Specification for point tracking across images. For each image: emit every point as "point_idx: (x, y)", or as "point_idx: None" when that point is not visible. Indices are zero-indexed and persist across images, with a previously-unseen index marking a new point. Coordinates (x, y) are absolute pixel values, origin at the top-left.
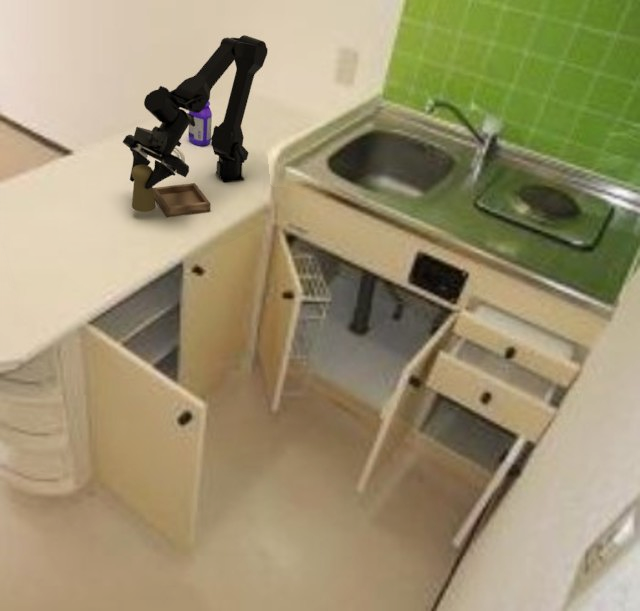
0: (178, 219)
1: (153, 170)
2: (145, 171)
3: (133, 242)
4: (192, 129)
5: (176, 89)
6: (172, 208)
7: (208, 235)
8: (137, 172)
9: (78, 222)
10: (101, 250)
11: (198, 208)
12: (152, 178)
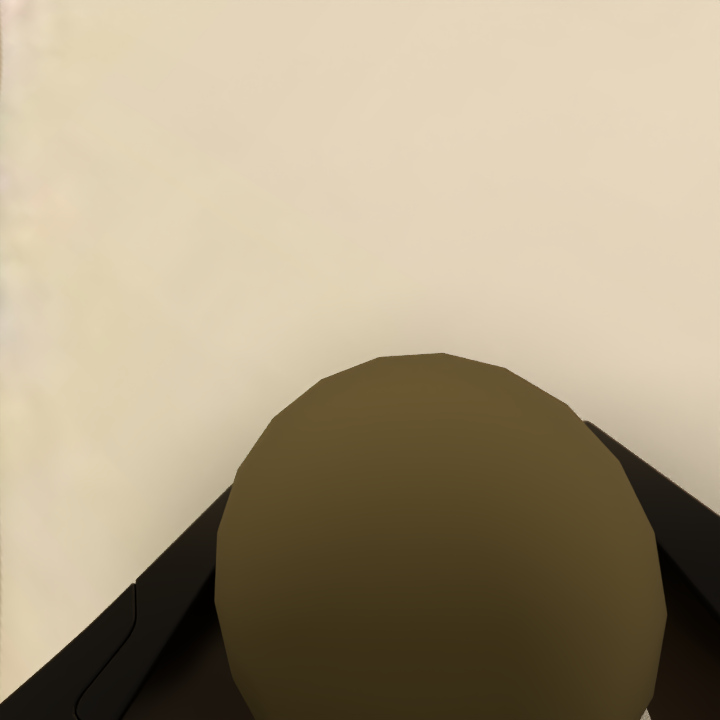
0: None
1: (117, 695)
2: (238, 528)
3: (225, 253)
4: None
5: None
6: None
7: (9, 638)
8: (341, 384)
9: (581, 118)
10: (266, 99)
11: None
12: (157, 559)
